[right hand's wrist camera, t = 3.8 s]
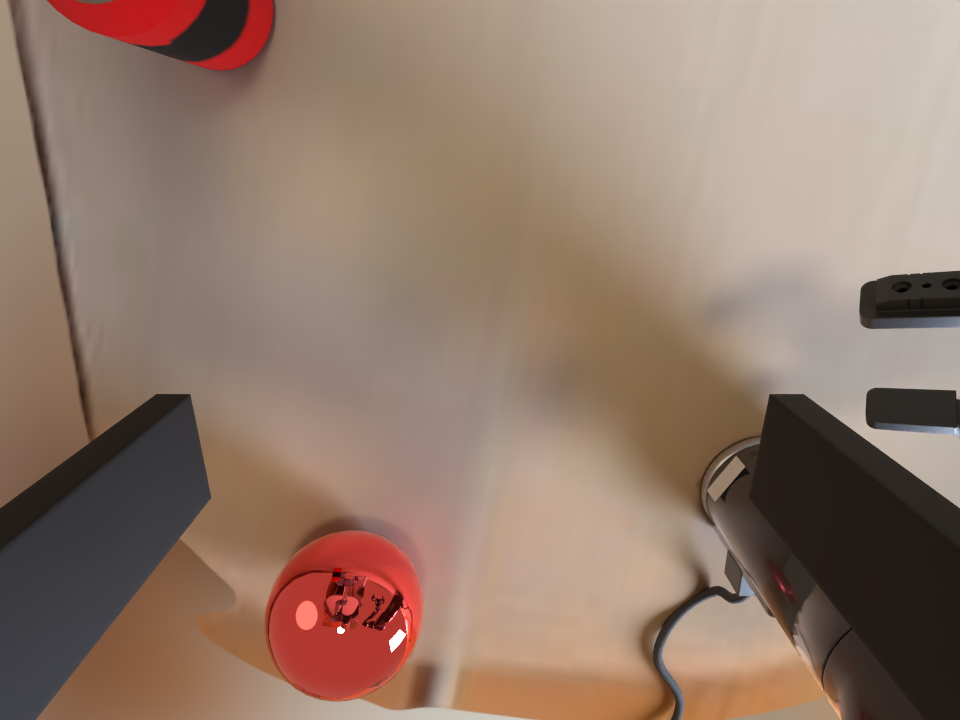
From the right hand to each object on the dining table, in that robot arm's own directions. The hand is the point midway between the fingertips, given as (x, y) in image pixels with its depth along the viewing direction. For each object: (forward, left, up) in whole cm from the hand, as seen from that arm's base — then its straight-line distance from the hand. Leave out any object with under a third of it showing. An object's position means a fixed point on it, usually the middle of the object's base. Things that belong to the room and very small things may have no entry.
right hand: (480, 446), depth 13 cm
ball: (+27, -10, -28) cm, 40 cm away
